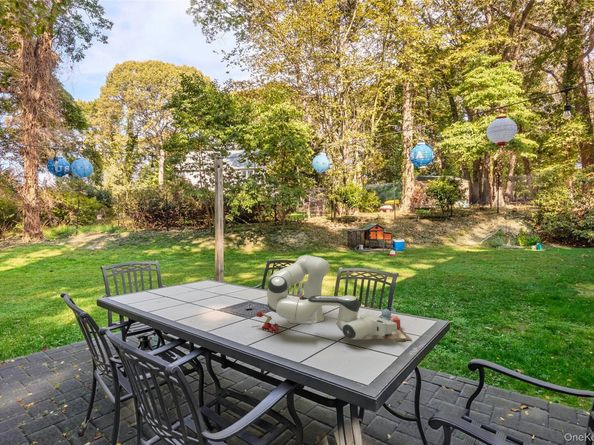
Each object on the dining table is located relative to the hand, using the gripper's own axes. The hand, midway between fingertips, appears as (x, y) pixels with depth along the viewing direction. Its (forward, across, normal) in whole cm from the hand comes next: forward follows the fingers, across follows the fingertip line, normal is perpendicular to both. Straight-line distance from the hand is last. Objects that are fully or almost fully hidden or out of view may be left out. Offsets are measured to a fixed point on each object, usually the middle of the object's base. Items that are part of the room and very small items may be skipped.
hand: (387, 319), depth 178 cm
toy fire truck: (-46, -46, -10) cm, 66 cm away
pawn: (-1, 0, -7) cm, 7 cm away
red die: (+12, -6, -9) cm, 17 cm away
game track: (-6, -3, -9) cm, 12 cm away
